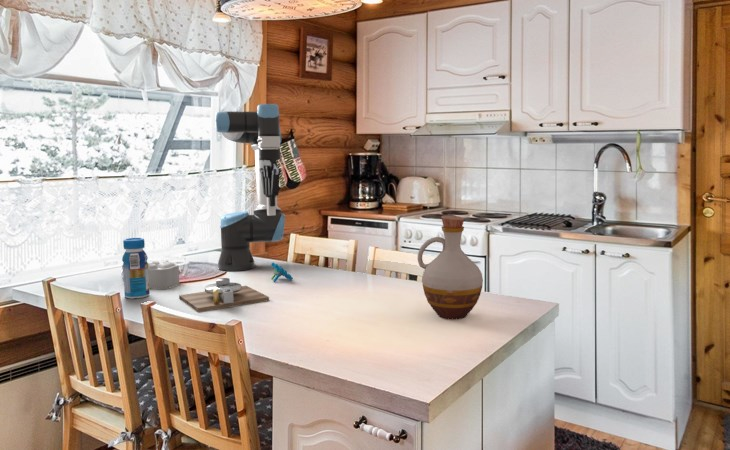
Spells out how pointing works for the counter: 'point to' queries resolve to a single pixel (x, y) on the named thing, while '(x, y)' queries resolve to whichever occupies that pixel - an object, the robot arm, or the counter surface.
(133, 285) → the beverage bottle
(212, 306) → the base board
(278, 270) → the blue t-shaped piece
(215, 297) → the dowel pin
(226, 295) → the grey bracket
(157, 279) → the lumpy-topped squat cylinder
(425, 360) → the counter surface
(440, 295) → the jug
